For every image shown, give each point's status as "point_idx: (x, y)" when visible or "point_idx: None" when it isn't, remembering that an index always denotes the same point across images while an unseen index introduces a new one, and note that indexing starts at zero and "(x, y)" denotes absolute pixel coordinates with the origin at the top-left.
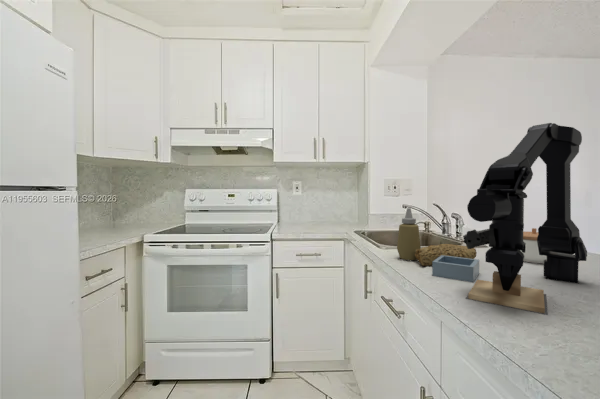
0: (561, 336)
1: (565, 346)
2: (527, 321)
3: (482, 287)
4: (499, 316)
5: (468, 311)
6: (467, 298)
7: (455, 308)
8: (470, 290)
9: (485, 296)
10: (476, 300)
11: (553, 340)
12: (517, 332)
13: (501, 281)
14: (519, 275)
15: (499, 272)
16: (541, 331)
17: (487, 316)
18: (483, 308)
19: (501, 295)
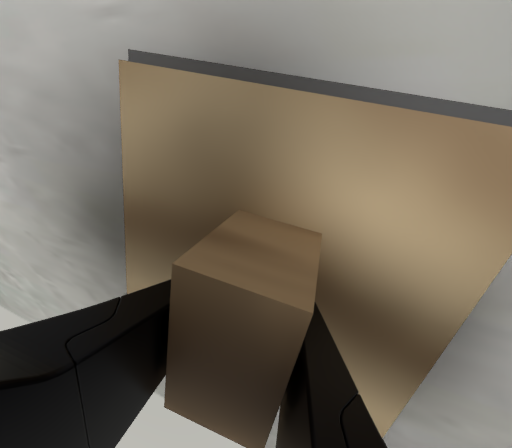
0: (51, 299)
1: (13, 285)
2: (85, 259)
3: (303, 160)
4: (69, 188)
5: (39, 76)
6: (137, 62)
7: (31, 11)
8: (302, 77)
9: (134, 158)
10: None
11: (22, 275)
12: (4, 212)
13: (163, 284)
14: (229, 434)
15: (72, 316)
16: (48, 269)
17: (44, 148)
18: (105, 141)
19: (190, 239)
